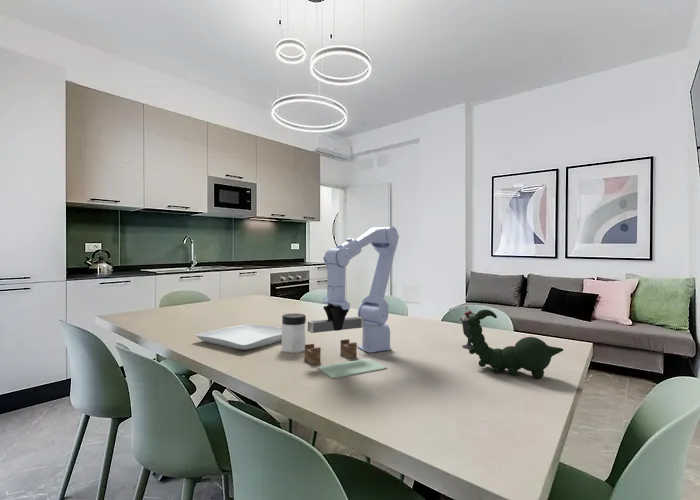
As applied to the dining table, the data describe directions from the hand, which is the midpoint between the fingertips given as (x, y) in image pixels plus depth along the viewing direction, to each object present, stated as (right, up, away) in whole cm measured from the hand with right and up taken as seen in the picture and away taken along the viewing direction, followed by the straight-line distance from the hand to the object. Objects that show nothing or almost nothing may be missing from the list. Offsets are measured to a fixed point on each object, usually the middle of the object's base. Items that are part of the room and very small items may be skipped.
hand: (335, 329), depth 116 cm
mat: (+5, -10, -8) cm, 14 cm away
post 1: (-7, -10, -1) cm, 12 cm away
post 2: (+4, -10, +6) cm, 12 cm away
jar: (-15, -10, +12) cm, 22 cm away
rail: (0, 0, 0) cm, 0 cm away
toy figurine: (+51, -11, -10) cm, 53 cm away
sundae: (+48, -11, +18) cm, 52 cm away
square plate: (-35, -10, +24) cm, 43 cm away
